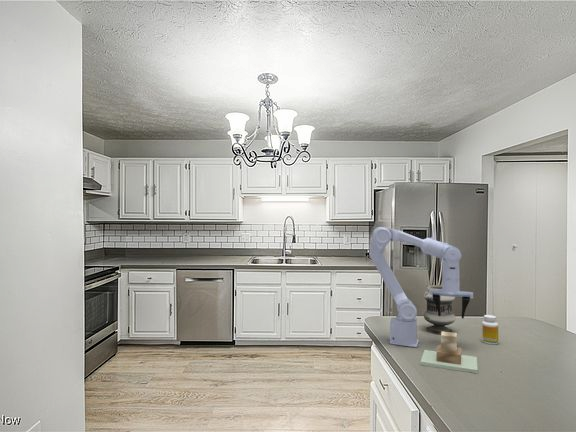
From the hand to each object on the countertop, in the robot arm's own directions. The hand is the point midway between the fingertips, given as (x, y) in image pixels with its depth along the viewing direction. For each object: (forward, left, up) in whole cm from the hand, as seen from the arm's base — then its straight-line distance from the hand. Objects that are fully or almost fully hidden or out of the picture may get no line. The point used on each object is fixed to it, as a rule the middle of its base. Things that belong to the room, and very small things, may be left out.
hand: (451, 316), depth 138 cm
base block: (0, -18, -10) cm, 21 cm away
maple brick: (0, -18, -6) cm, 19 cm away
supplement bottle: (+13, +10, -11) cm, 20 cm away
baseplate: (0, -18, -10) cm, 21 cm away
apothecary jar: (-5, +18, -11) cm, 21 cm away
